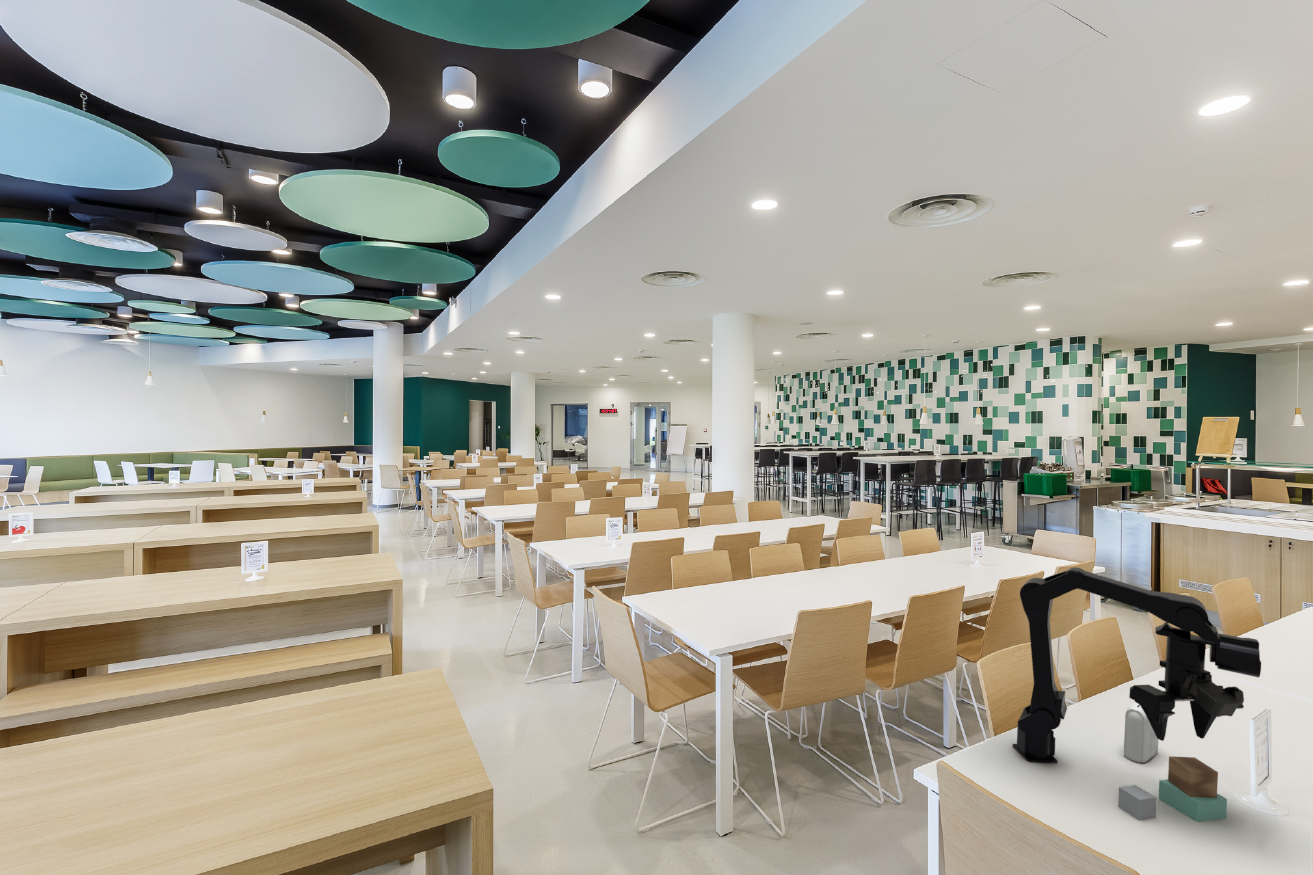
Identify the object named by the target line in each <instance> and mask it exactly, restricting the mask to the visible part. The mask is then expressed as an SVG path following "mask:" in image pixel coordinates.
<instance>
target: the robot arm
mask: <svg viewBox="0 0 1313 875" xmlns="http://www.w3.org/2000/svg"><path fill="white" fill-rule="evenodd" d="M1077 589H1078V590H1081V591H1084V592H1087V593H1091V594H1093V595H1096V596H1099V597H1102V598H1106V599H1109V600H1112V601H1115V602H1118V603H1121V604H1124V605H1128V606H1131V607H1134V608H1137V609H1139V610H1143V611H1145V612H1147V613H1149V614H1152V615H1153V616H1155V617H1156V618H1158V619H1159V620H1161V621H1163V622H1164V623H1163V624H1161V625H1159V626H1156V627H1155V628H1154V629H1155V632H1154V633H1155V635H1158V636H1161V637H1166V649H1165V650H1166V651H1165V660H1159V666H1160V667H1162V668H1164V680H1158V685H1157V686H1159V687H1161V688H1163V689H1164V690H1162V689H1159V688H1157V687H1156V686H1153V685H1151V684H1134V685H1132V686H1130V687H1129V696H1128V697H1129V698H1128V699H1131V700H1133V701H1134V702H1136V703H1138V704H1140V706H1141V708H1142V709H1143V711H1144V713H1145V714H1146V716H1147V718H1148V720H1149V722H1150V724H1151V726H1152V729H1153V731H1154V733H1155V735H1156V737H1157V738H1158V741H1163V742H1164V740H1165V737H1166V734H1167V727H1168V721H1169V717H1171V716H1173V715H1175V714H1176V712H1175V711H1173V710H1174V709H1175V707H1176V702H1189V704H1190V709H1191V710H1190V711H1191V715H1192V716H1191V717H1192V721H1193V727H1194V730H1195V731H1194V732H1195V735H1196V737H1198V738H1200V739H1205V737H1206V736H1207V734H1208V732H1209V730H1210V728H1211V727H1212V725H1213V723H1214V721H1215V720H1216V719H1217V718H1219V717H1227V716H1228V717H1233V716H1234V714H1235V712H1236V710H1238V709H1244V708H1245V706H1244V704H1243V703H1244V702H1245V697H1244V691H1243V690H1242V689H1241V688H1239V687H1237V686H1227V687H1224V686H1223V685H1222V684H1221V685H1220V684H1219V685H1217V684H1216V683H1215V682H1213V679H1212V677H1213V676H1212V674H1211V671H1208V670H1206V669H1205V664H1206V663H1205V662H1206V650H1207V649H1206V646H1207V645H1209V655H1208V656H1209V662H1210V663H1214V666H1216V668H1217V670H1222V671H1225V672H1226V671H1227V672H1232V673H1237V674H1241V675H1245V676H1250V677H1254V678H1260V676H1261V671H1262V661H1261V654H1260V653H1261V652H1260V642H1259V640H1258V639H1255V638H1251V637H1240V636H1234V635H1230V634H1225V633H1219V632H1218V629H1217V626H1215V625H1214V624H1212V622H1211V621H1210V619H1209V616H1208V612H1207V609H1206V605H1204V604H1203V602H1201V601H1200V600H1199V599H1197V597H1196V598H1195V596H1192V595H1191V596H1190V595H1185V594H1179V593H1178V594H1177V593H1173V592H1166V591H1165V592H1164V591H1154V590H1149V589H1146V588H1143V587H1140V586H1136V585H1132V584H1129V583H1125V582H1123V581H1120V580H1116V579H1112V578H1110V577H1106V576H1103V575H1100V574H1097V573H1093V572H1091V571H1087V570H1085V569H1082V568H1080V567H1075V566H1074V567H1070V568H1068V569H1067V570H1065V571H1062V572H1059V573H1056V574H1055V573H1054V574H1051V575H1049V576H1047V577H1045V578H1042V577H1032V578H1030V579H1028V580H1027V581H1026V582H1025V583H1024V584H1023V585H1022V587H1021V588H1020V590H1019V597H1020V598H1019V599H1020V602H1021V604H1022V608H1023V611H1024V614H1025V616H1026V619H1027V621H1028V627H1029V638H1030V652H1031V664H1032V677H1033V688H1032V692H1031V697H1030V704H1028V705H1026V706H1025V707H1023V710H1022V712H1021V714H1020V716H1019V718H1018V720H1017V727H1016V728H1017V729H1016V730H1017V731H1016V743H1012V747H1013V749H1015V750H1016V751H1017V752H1018V753H1019V754H1020V755H1021V756H1022V757H1023V758H1024V759H1025V760H1026V761H1028V762H1030V763H1031V762H1035V763H1036V762H1037V763H1056V764H1057V763H1058V759H1057V758H1056V757H1055V755H1056V737H1055V736H1054V735H1055V734H1054V733H1055V731H1054V730H1055V729H1057V728H1059V726H1060V725H1061V721H1062V720H1065V716H1066V714H1067V711H1068V707H1067V704H1066V703H1065V702H1066V701H1065V699H1066V691H1065V690H1059V689H1058V687H1057V685H1056V681H1055V670H1054V668H1055V667H1054V659H1053V647H1052V646H1053V645H1052V636H1051V632H1052V631H1051V623H1050V620H1051V614H1052V610H1053V602H1054V599H1057V598H1059V597H1061V596H1063V595H1066V594H1068V593H1070V592H1072V591H1075V590H1077ZM1191 632H1192V633H1194V634H1192V633H1191ZM1195 634H1196V635H1195Z"/></svg>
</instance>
